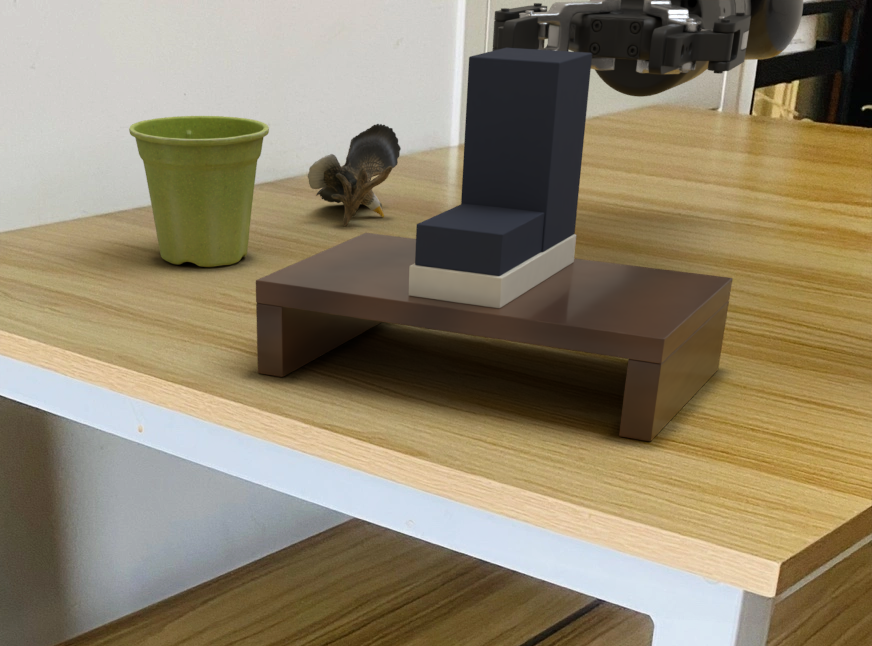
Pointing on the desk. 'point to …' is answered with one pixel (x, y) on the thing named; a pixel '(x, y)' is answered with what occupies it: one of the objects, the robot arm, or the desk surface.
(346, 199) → the eagle figurine
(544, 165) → the boot
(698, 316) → the monitor riser stand
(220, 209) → the plant pot
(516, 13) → the robot arm
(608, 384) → the desk surface
